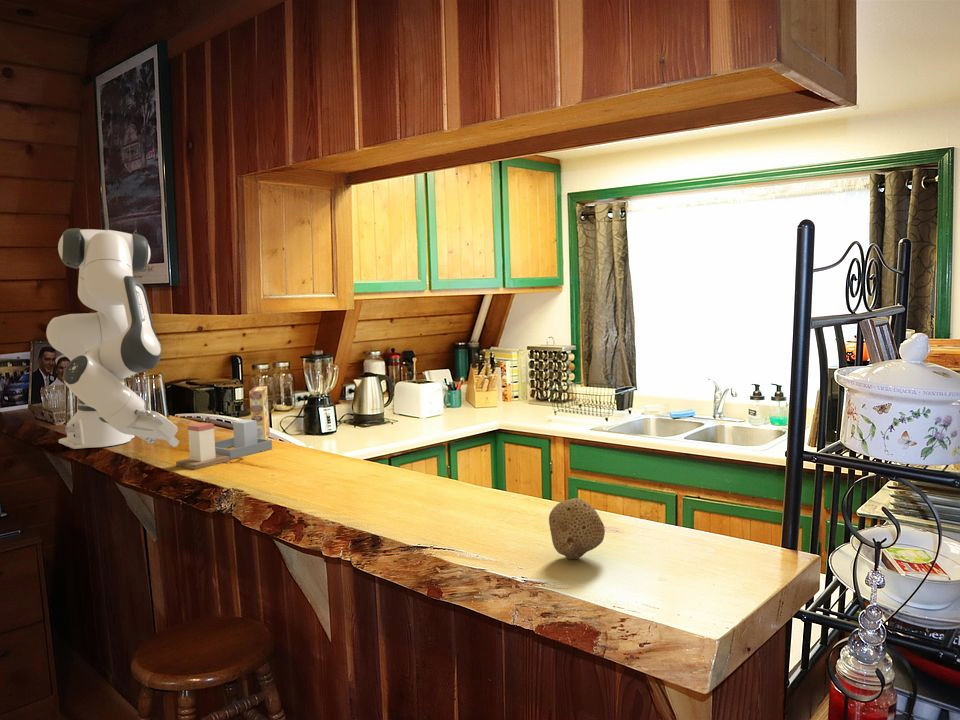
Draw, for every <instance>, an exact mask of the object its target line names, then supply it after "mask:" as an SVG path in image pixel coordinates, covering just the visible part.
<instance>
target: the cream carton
mask: <svg viewBox="0 0 960 720" xmlns="http://www.w3.org/2000/svg"><path fill="white" fill-rule="evenodd" d="M187 431H188V447H189V458H190V460H194V461H200V462H202V461H206V460H210V459H214V458H216V455H215V442H216V441H215V424H214V423H210V422H198V423H193V424H188V425H187Z"/></svg>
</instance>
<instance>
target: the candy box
mask: <svg viewBox="0 0 960 720" xmlns="http://www.w3.org/2000/svg"><path fill="white" fill-rule="evenodd" d="M248 392H249V393H248V395H249V409H250V420H255V421H257V438H260V439H267V440H268V439H269V437H270V436H271V432H270V431H271V429H270V417H269V416H270V415H269V401H268V399H269V398H268V386H254V387H253V388H251V389H250V390H249V391H248Z"/></svg>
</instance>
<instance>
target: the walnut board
mask: <svg viewBox="0 0 960 720" xmlns="http://www.w3.org/2000/svg"><path fill="white" fill-rule="evenodd" d="M215 455H216V458H214V459H210V460H206V461H202V462H200V461H194V460H190V457H189V458H185V459H181V460H176V461H175V465H176V467H180V468H185V469H190V470H195V469H196V470H199V469H198V468H200V469H203V468H202V467H204V468H207V467H206V466H208V467H210V466H209V465H212V466H214V465H213V464H216V465H218V464H217V463H220V464H223V463H222V462H224V463H227V461H228V462H230V461H231V459H230V457H229V456H223V455H217V454H215Z"/></svg>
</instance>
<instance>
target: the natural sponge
mask: <svg viewBox="0 0 960 720" xmlns="http://www.w3.org/2000/svg"><path fill="white" fill-rule="evenodd" d="M548 524H549V530H550V535H551V541H552V545H553V548H554V549H555V551H556V552H557V553H558V554H559V555H561V556H564V557H565V558H567V559H569V560H577V559H579V558H582V557H583V556H584V555H585V554H586V553H587V552H590V551H592V550H594V549H596V548H597V547H599V546H600V545H601V544H602V542H603V541H604V538H605V531H606V530H605V528H606V527H605V525H604V522H603V520H602V519H601V517H600V516H599V514H598V512H597V511H596V509H595V508H594V507H593V506H592V505H591V504H590V503H589V502H587V501H585V500H584V499H581V498H576V497H573V498H570V499H566V500H562V501H560V502H558V503H557V504H556V505H555V506H554V507H553V508H552V510H551V511H550V513H549V516H548Z"/></svg>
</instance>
